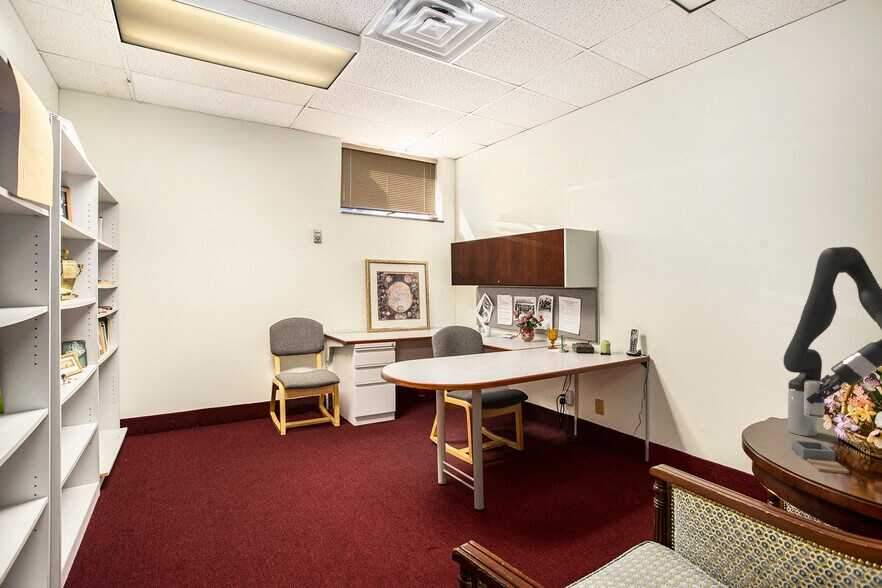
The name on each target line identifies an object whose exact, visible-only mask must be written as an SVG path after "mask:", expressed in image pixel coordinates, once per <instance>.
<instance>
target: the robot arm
mask: <svg viewBox="0 0 882 588" xmlns="http://www.w3.org/2000/svg"><path fill="white" fill-rule="evenodd" d="M842 273H845V274H847V275H848V276H849V277H850V278H851V279H852V280H853V281H854V283H855V285H856V287H857V296H858V299H859V302H860V305H861V306H862V308H863V309H864V310H865V311H866V313H867V314H868V315H869V317H870V318H871V319H872V320H873V321H874V322H875V323H876V324H877V325H878V327H879V329H880V330H881V331H882V287H881V286H880V284H879V283H878V281H877V279H876V277H875V276H874V274H873V272H872V270H871V269H870V266H869V265H868V263H867V260H866V259H865V258H864V256H863V254H862V253H861V252H860V251H859V249H857V248H855V247H853V246H838V247H837V246H836V247H828V248H826V249H824V250H823V251H822V252H821V253H820V254H819V256H818V259H817V262H816V267H815V272H814V276H813V280H812V283H811V287H810V290H809V294H808V297H807V300H806V301H805V304H804V307H803V309H802V313H801V315H800V319H799V322H798V325H797V326H796V329H795V332H794V334H793V336H792V339H791V340H790V342H789V344H788V346H787V348H786V350H785V352H784V356H783V360H782V361H783V366H784V368H785V369H786V370H787V371H788V372H790V373H799V374H798V375H797V376H796V377H795V378H793V379H790V380H789V381H788V385H787V387H788V388H787V390H788V393H787V394H788V395H787V396H788V397H787V401H788V402H787V431H788V432H790V433H792V434H795V435H799V436H804V437H816V436H818V419H816V418H810V417H807V416H805V415H804V386H805V381H808V380H811V381H819V382H823V384H822V385H821V386H820V389H819V390H818V391H817V392H815V393H814V394H812V395H811V396H809V397H808V398H806V400H807V401H808V402H809V403H810V404H813V403H815V402H816V401H818V400H819V399H821V397H822V398H824V399H828V397H830V396H832V395H833V394H835V393H837V392H839V391H842V389H843V387H842V385H843V384H844V383H846V384H847V385H848V386H850V387H852V386H854V385H856V384H857V383H859V382H860V381H862V380H864V378H867V376H869V375H870V374H872V373H874V371H876V370H877V369H878V368H880V367H881V366H882V338H881V339H879V340H877V341H874V342H869V343H868V344H866V345H865V346H863V347H862V348H860V349H858V350H857V351H855V352H853V353H851V354H850V355H848V356H847V357H845V358H843V359H842V360H840V361H839V362H838V363H836V364H835V365H834V366H832V367H830V370H831V371H832V372H833V373H834V374H832V375H829V374H826V375H825V376H824V377H822V369H823V360H822V356H821V354H820V353H819V352H818V351H817V350H816V349H814V348H809V347H810V346H811V345H812V343H813V342H814V341H815V340H816V339H817V338H818V337H819V336H821V335H822V334H823V333H824V332H825V331H826V330H828V328H829V327H830V326H831V325H832V323H833V320H834V317H835V315H836V313H837V310H838V309H837V307H838V304H837V300H836V296H835V294H834V293H835V292H834V287H835V283H836V280H837V277H838V276H839V274H842Z"/></svg>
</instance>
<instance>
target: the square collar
mask: <svg viewBox="0 0 882 588" xmlns="http://www.w3.org/2000/svg"><path fill="white" fill-rule="evenodd" d="M791 451H793V452H794V453H795V454H796V455H797V456H799V457H800V458H801V459H802V460H805V461H807V459H815V460H826V461H836V451H835V450H833V448H830V447H829V446H828V445H826V444H825V443H824V442H823V441H822V442H821V441H807V440H796V439H792V440H791Z"/></svg>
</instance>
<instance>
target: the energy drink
mask: <svg viewBox="0 0 882 588" xmlns="http://www.w3.org/2000/svg"><path fill="white" fill-rule="evenodd" d="M822 384H823V382H819V381H811V380H808V381H805V386H804V415H805V416H807V417H810V418H816V419H817V420H818V419H819V420H820V419H823V418H824V417H825V398H822V397H821V399H819V400H818V401H816V402H815V403H813V404H810V403H809V402H808V401H807V400H806V398H808V397H809V396H811V395H812V394H814V393H815V392H817V391H818V390H819V389H820V386H821V385H822Z"/></svg>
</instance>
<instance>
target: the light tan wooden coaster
mask: <svg viewBox="0 0 882 588" xmlns="http://www.w3.org/2000/svg"><path fill="white" fill-rule="evenodd" d="M806 461H807V462H808V464H810V465H811V466H812V467H813V468H815V469H816V470H817V471H818V472H825V473H827V472H829V473H836V474H837V473H838V474H850V471H849V470H848V469H847V468H846V467H844V466H843V465H842V464H841V463H839V462H838V461H836V460H835V461H826V460H815V459H807V460H806Z"/></svg>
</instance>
